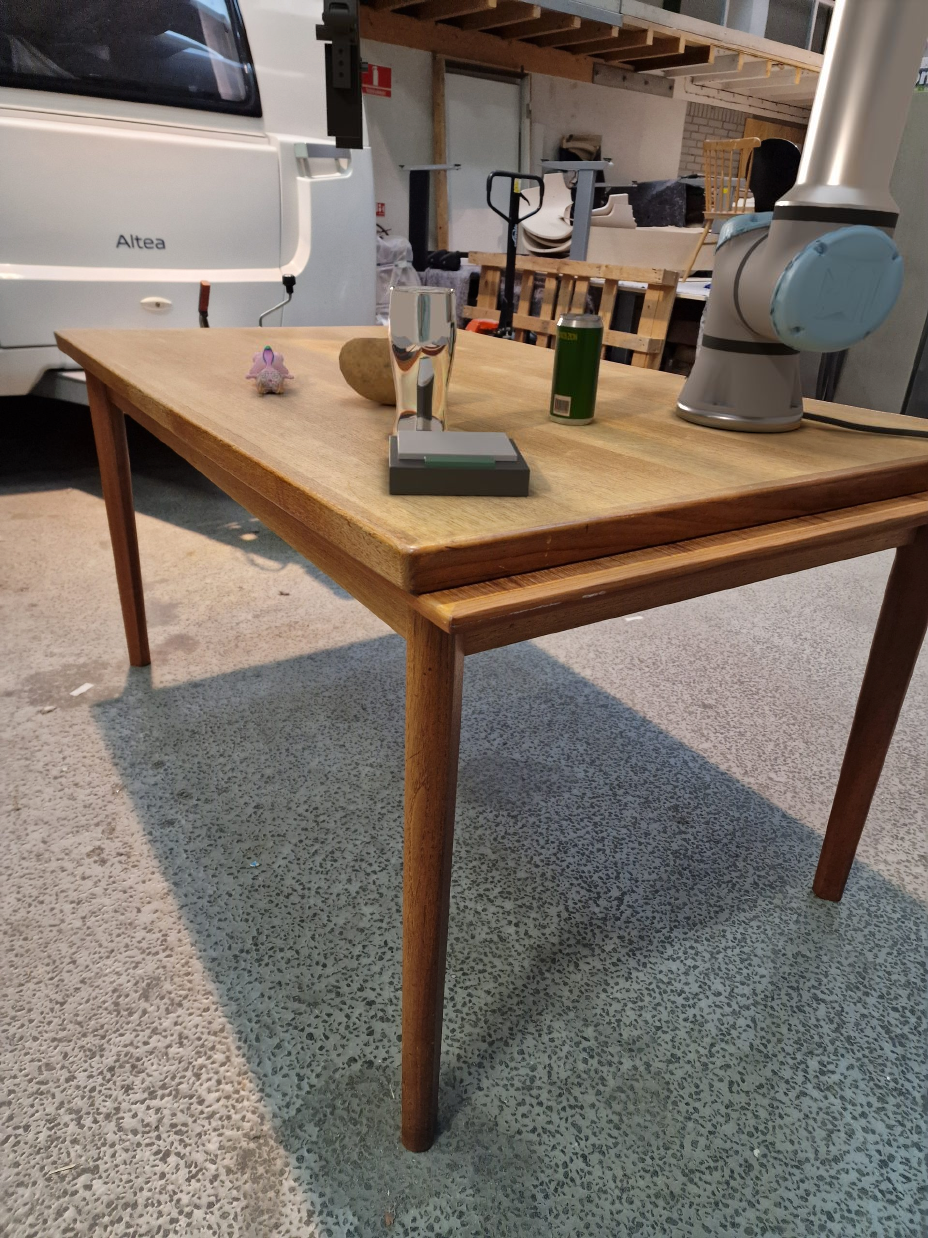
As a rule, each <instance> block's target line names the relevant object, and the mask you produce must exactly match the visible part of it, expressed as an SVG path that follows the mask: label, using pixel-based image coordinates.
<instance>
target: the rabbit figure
mask: <svg viewBox="0 0 928 1238" xmlns="http://www.w3.org/2000/svg"><path fill="white" fill-rule="evenodd" d="M251 358H252V362H253V365H252V366H251V367H250V369H249V374H246V375H245V376H244V378H245V380H252V379H254V380H255V385H256V389H257V391H258V392H257V394H258V395H259V394H260V395H262V394H267V393H268V392H274V393H275V394H280V396H281V397H282V396H283V395H282V393H283V394H285V381H284V380H285V379H289V380H294V379H295V376H294V375H292V374H290V372H289V370H288V368H287V367H286V366H285V365H284V360H285V358H284V355H283V354H282V353H280V352H274V351H273V349H272V347H271V346H270V345H269V344H266V345H265V346H264V349H263V351H262V352H260V351H259V352H254V353H253V355H252V357H251Z"/></svg>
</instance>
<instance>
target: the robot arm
mask: <svg viewBox="0 0 928 1238" xmlns="http://www.w3.org/2000/svg"><path fill="white" fill-rule="evenodd" d="M322 1H323V2H322V5H323V6H322V7H323V8H322V9H323V10H322V13H321V21H322V22H323V23H322V24H320V23H315V24H314V25H315V27H314V29H315V40H316V41H320V42H321V41H322V42H324V45H323V46H324V47H323V48H324V74H325V75H324V76H325V77H324V79H325V103H326V104H325V105H326V107H325V108H326V109H325V110H326V133H327V134H326V135H327V137H333V138H335V139H334V140H335V141H334V142H335V149H340V150H341V149H342V150H343V149H344V150H361V151H362V150H364V120H363V119H364V116H363V115H364V114H363V74H369V61H363V57H362V56H361V20H360V17H361V16H360V15H361V14H360V0H322ZM329 42H330V43H329ZM927 43H928V0H834V5H833V10H832V15H831V19H830V23H829V28H828V33H827V38H826V42H825V47H824V51H823V55H822V60H821V65H820V69H819V74H818V79H817V82H816V83H817V84H816V88H815V93H814V97H813V101H812V105H811V106H812V107H811V111H810V115H809V120H808V125H807V129H806V133H805V138H804V143H803V147H802V151H801V157H800V162H799V166H798V170H797V175H796V179H795V183H794V184H793V186H792V188H790V189H789V190H788V191H787V192H786V193H785V194H783V196H781V197H780V198H779V199H778V200H776V201H775V204H774V208H773V211H764V212H763V211H762V212H757V213H756V212H754V213H753V212H751V213H745V214H740V215H736V216H734V217H731V218H729V219H728V220H726V221H725V222H724V224H723V225H722V226H721V229H720V232H719V237H718V241H717V244H716V246H715V248H714V261H713V267H712V274H711V281H710V286H709V292H708V300H707V306H706V313H705V319H704V325H703V333H702V339H701V344H700V350H699V353H698V356H697V357H696V361H695V362H694V364H693V365H692V368H691V369H689V370H688V372H687V373H686V375H685V377H684V380H685V383H684V384H683V386H682V389H681V391H680V393H679V394H678V397H677V402H676V407H675V414H676V416H678V417H679V418H680V419H683V420H685V421H687V422H690V423H694V424H697V425H702V426H706V427H711V428H716V429H723V430H731V431H739V432H740V431H741V432H752V433H754V432H755V433H779V432H789V431H793V430H796V429H799V428H800V427H801V426H802V425H801V424H802V420H807V421H813V422H816V423H821V424H827V425H831V426H834V427H838V428H842V429H846V430H853V431H856V432H857V431H858V432H863V433H871V434H878V435H888V436H898V437H911V438H920V439H921V438H922V439H928V430H919V429H908V428H896V427H888V426H887V427H885V426H877V425H869V424H864V423H856V422H852V421H847V420H843V419H839V418H835V417H830V416H827V415H821V414H817V413H811V412H808V411H805V410H804V402H803V401H804V400H803V391H802V390H803V389H802V381H801V373H800V363H799V362H800V355H801V352H804V351H805V352H812V353H813V352H814V353H835V352H840V351H844V350H848V349H850V348H852V347H854V346H857V345H859V344H860V343H861V342H862V341H864V340H866V339H867V338H868V337H870V336H871V335H872V334H874V333H876V331H878V329H880V328H881V326H882V325H883V324H884V323H885V322H886V321H887V319H888V318H889V317H890V315H891V314H892V312H893V310H894V309H895V307H896V304H897V303H898V300H899V298H900V295H901V294H902V293H901V292H902V289H903V285H904V278H905V267H904V266H905V265H904V259H903V257H902V256H901V255H900V252H899V250H898V246H897V244H896V243H895V241H894V240H893V238H894V234H895V231H896V228H897V223H898V219H899V216H900V210H901V209H900V208H899V206H898V204H897V203H896V202H895V200H894V198H893V197H892V195H891V193H890V184H891V180H892V177H893V172H894V169H895V165H896V162H897V158H898V153H899V149H900V145H901V142H902V138H903V134H904V131H905V127H906V123H907V119H908V116H909V112H910V107H911V104H912V100H913V95H914V93H915V89H916V84H917V80H918V77H919V73H920V70H921V66H922V62H923V59H924V55H925V51H926V47H927Z"/></svg>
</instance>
